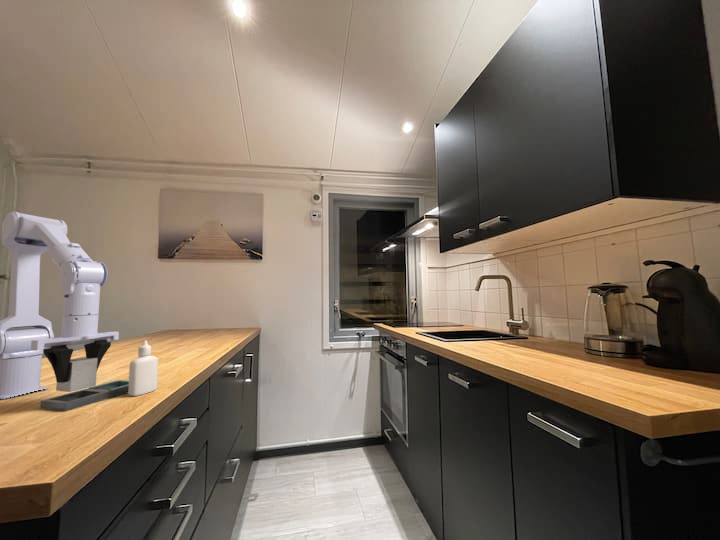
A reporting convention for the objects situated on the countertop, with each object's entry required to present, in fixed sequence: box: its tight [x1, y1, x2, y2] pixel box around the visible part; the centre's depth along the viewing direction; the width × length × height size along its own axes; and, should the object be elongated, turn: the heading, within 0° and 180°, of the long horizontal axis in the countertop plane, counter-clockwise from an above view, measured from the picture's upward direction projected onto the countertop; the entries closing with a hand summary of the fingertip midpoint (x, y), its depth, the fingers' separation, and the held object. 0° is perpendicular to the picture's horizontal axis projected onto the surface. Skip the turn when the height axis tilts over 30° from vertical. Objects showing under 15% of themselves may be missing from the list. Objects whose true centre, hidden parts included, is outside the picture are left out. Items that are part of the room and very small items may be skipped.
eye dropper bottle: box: [127, 340, 159, 397], centre depth 68 cm, size 4×6×12 cm
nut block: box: [55, 356, 98, 393], centre depth 62 cm, size 4×4×6 cm
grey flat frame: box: [39, 379, 129, 412], centre depth 65 cm, size 8×15×2 cm, turn 163°
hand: (76, 378), depth 62 cm, fingers closed on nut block, 4 cm apart
